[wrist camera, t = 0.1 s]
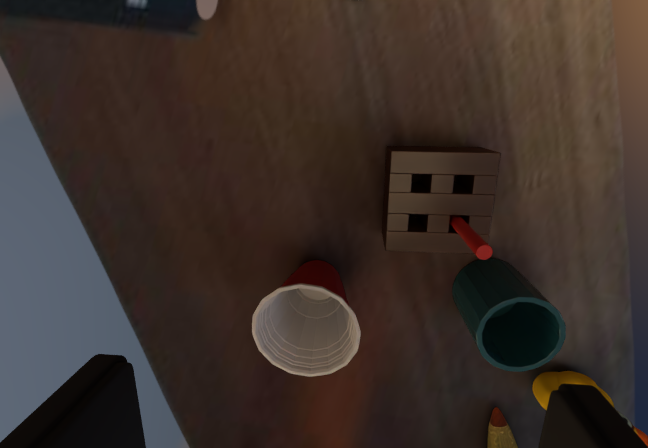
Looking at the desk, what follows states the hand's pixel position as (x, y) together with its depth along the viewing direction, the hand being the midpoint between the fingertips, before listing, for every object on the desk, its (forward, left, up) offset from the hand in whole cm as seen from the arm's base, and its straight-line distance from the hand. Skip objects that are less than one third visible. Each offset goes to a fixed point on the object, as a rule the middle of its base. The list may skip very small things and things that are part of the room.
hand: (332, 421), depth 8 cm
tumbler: (+14, +17, -37) cm, 43 cm away
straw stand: (+2, +9, -37) cm, 38 cm away
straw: (+4, +11, -37) cm, 39 cm away
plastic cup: (+14, -4, -37) cm, 40 cm away
